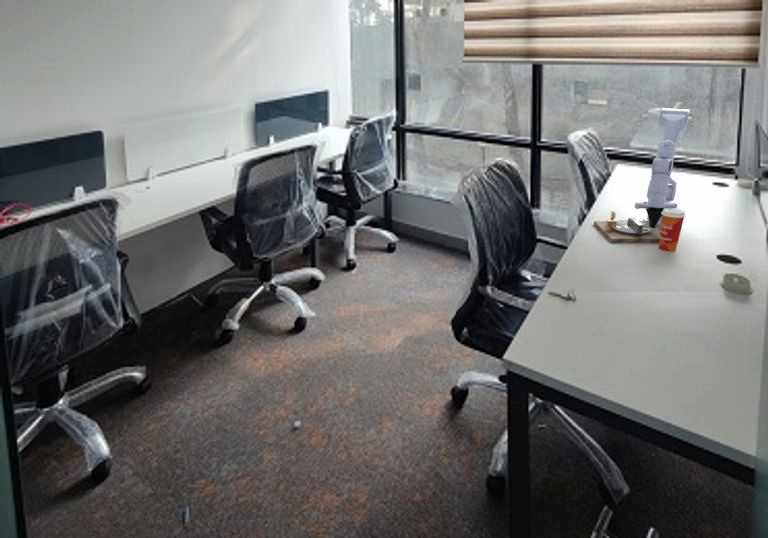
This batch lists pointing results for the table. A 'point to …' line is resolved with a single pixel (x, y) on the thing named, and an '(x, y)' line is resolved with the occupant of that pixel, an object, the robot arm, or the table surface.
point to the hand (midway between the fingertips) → (652, 227)
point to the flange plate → (629, 226)
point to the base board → (627, 238)
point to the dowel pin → (613, 215)
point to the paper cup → (670, 228)
